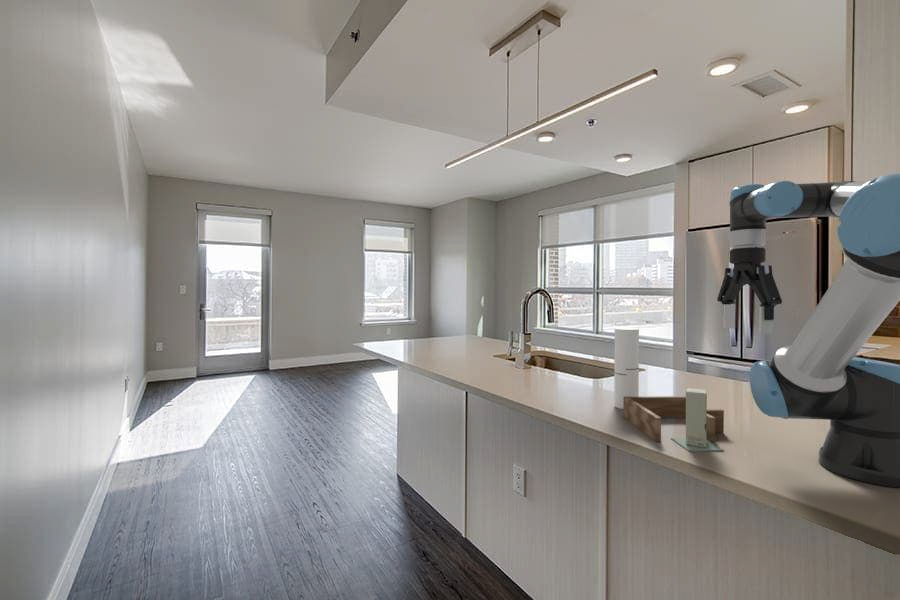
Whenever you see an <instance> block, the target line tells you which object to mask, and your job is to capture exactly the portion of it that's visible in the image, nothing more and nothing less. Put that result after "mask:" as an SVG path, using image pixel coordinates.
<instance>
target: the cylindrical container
mask: <svg viewBox="0 0 900 600" xmlns="http://www.w3.org/2000/svg"><path fill="white" fill-rule="evenodd" d="M639 356H640V328H639V327H638V328H636V327H614V369H613V371H614V378H613V379H614V391H613V392H614V399H613V400H614V402H613V403H614V407H615V408H618V409H621V410H624V397H640V395H639V394H640V393H639V391H640V389H639V386H640V385H639V382H640V381H639V380H640V379H639V378H640V377H639V376H640V373H639V371H640V365H639V364H640V362H639V361H640V357H639Z"/></svg>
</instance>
